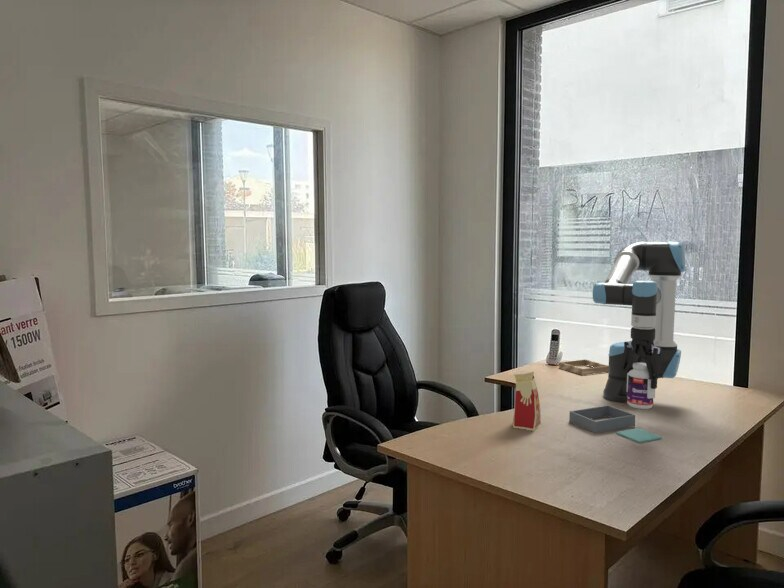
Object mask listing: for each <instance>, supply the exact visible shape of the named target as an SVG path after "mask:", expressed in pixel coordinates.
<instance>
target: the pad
mask: <svg viewBox="0 0 784 588" xmlns="http://www.w3.org/2000/svg"><path fill="white" fill-rule="evenodd" d="M616 434H617V435H619V436H621V437H623V438H626V439H629V440H630V441H634V442H636V443H638V444H642V443H647V442H652V441H657V440H661V439H663V437H662V436H660V435H658V434H656V433H653V432H650V431H647V430H645V429H641V428H639V427H635V428H631V429H625V430H620V431H616Z"/></svg>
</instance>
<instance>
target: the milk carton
mask: <svg viewBox="0 0 784 588" xmlns="http://www.w3.org/2000/svg"><path fill="white" fill-rule="evenodd" d="M534 373H535V371H534V370H533V371H529V372H526V373H517V374H515V373H514V374H513V376H514V378H515V379H514V380H515V393H514V394H515V395H514V411H513V420H512V427H513V429H518V428H519V430H525V429H526V431H531V430H532V431H531V432H535V431H536V430H537V429H538V428H539V427H540V425H541V424H542V421H541V420H542V419H541V418H542V415H541V404H540V398H539V396H540V395H539V392H538V387H537V382H536V378H535V376H534ZM538 426H539V427H538Z"/></svg>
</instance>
